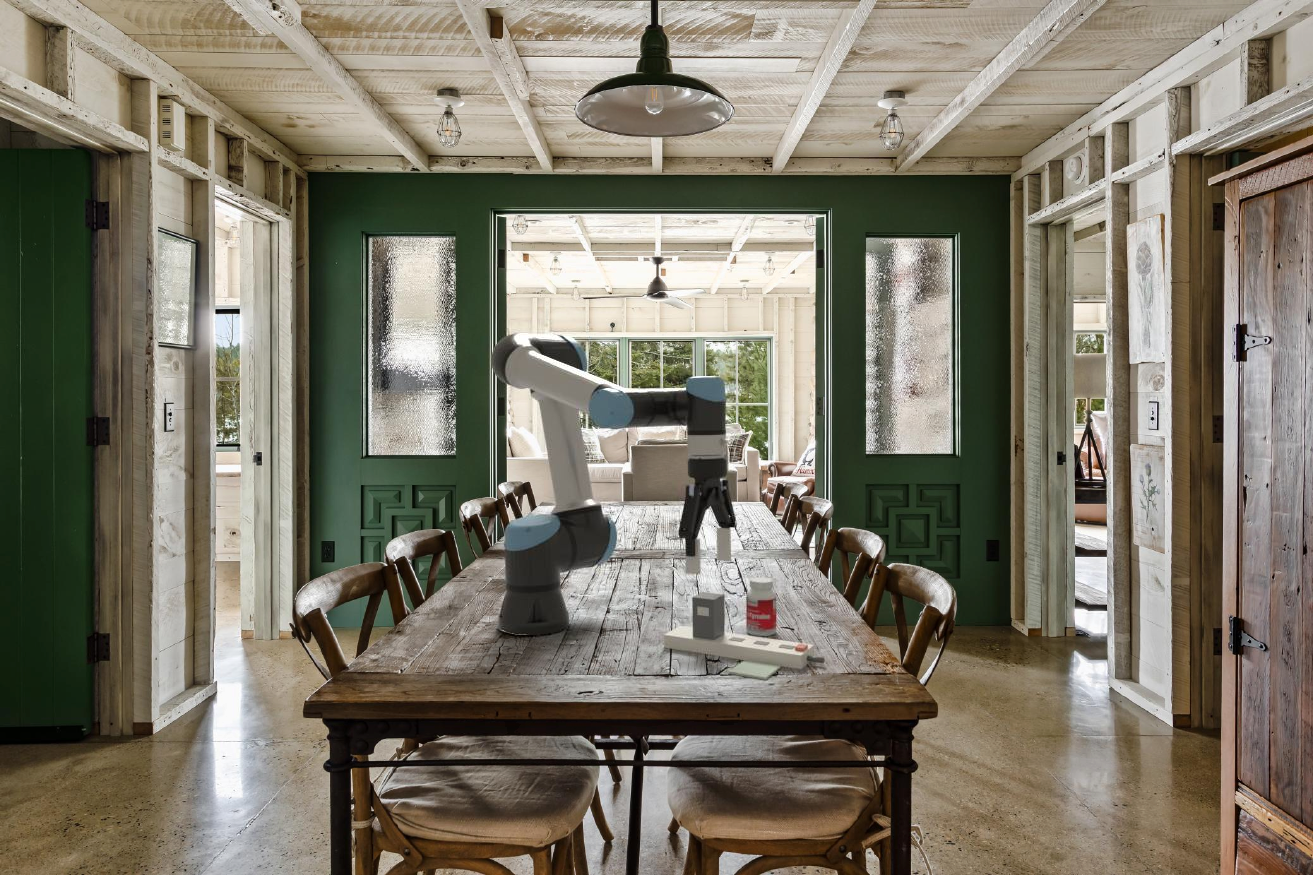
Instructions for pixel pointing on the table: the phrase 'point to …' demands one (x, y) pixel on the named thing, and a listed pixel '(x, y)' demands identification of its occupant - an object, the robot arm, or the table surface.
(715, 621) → the block
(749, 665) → the felt pad
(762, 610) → the pill bottle
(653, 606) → the table surface
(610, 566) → the table surface
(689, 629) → the power strip
